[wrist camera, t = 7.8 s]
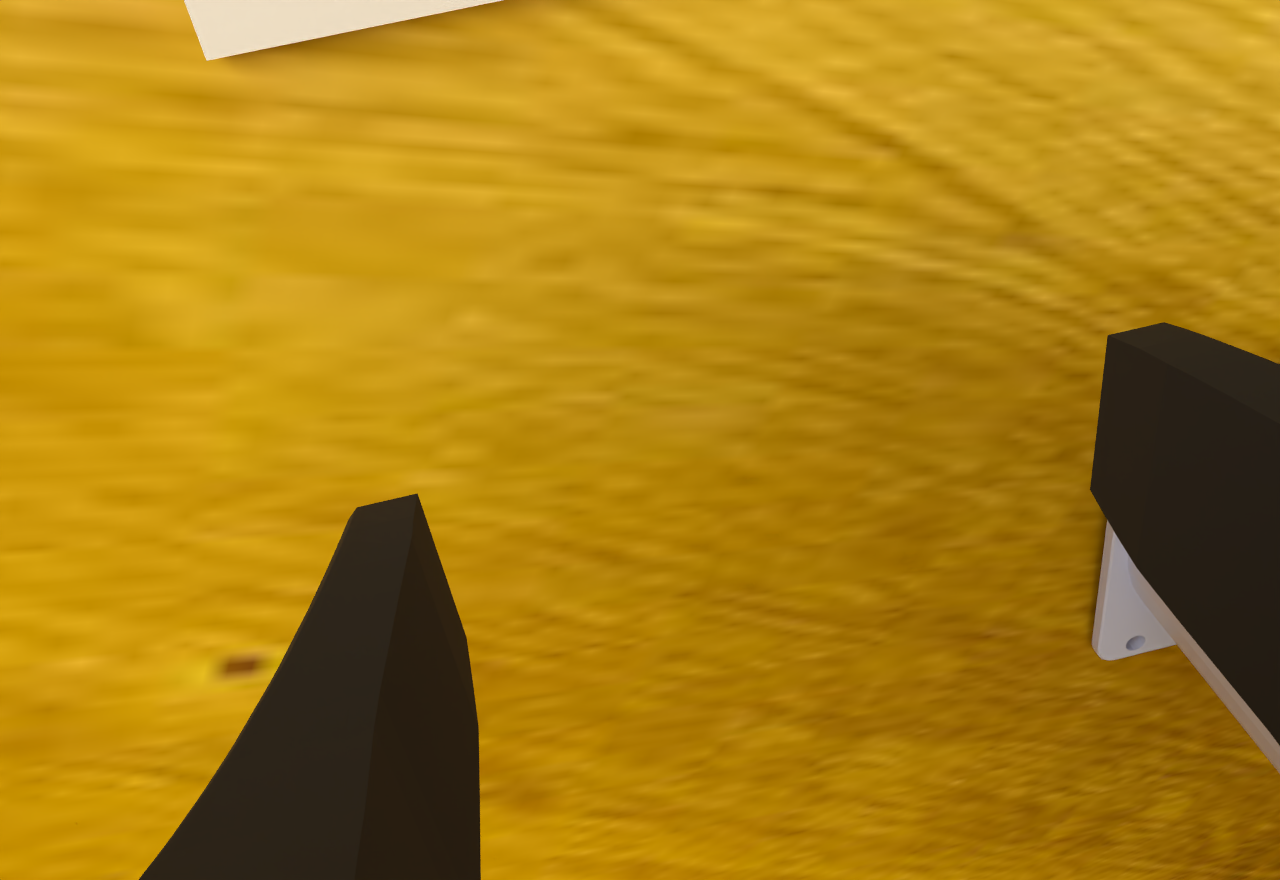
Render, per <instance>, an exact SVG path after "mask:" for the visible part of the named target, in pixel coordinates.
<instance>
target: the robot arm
mask: <svg viewBox="0 0 1280 880" xmlns="http://www.w3.org/2000/svg"><path fill="white" fill-rule="evenodd" d="M1090 490H1091V492H1092V494H1093V496H1094V497H1095V499H1096V501H1097V503H1098V504H1099V506H1100V508H1101V510H1102V511H1103V513H1104V515H1105V517H1106V518H1107V526H1106V534H1105V542H1104V550H1103V558H1102V566H1101V573H1100V581H1099V589H1098V597H1097V605H1096V613H1095V621H1094V629H1093V637H1092V647H1093V649H1094V650H1095V652H1096V653H1097V654H1098V656H1099V657H1100V658H1101V659H1104V660H1116V659H1120V658H1124V657H1128V656H1132V655H1136V654H1140V653H1144V652H1148V651H1152V650H1156V649H1160V648H1164V647H1168V646H1172V645H1176V644H1177V645H1178V647H1179V648H1180V649H1181V650H1182V652H1183V653H1184V654H1185V655H1186V657H1187V658H1188V659H1189V660H1190V662H1191V663H1192V664H1193V665H1194V667H1195V668H1196V669H1197V670H1198V672H1199V673H1200V674H1201V675H1202V677H1203V678H1204V679H1205V680H1206V682H1207V683H1208V684H1209V685H1210V687H1211V688H1212V689H1213V691H1214V692H1215V693H1216V694H1217V696H1218V697H1219V698H1220V699H1221V701H1222V702H1223V703H1224V704H1225V706H1226V707H1227V708H1228V709H1229V711H1230V712H1231V713H1232V714H1233V716H1234V717H1235V718H1236V719H1237V721H1238V722H1239V723H1240V724H1241V726H1242V727H1243V728H1244V729H1245V731H1246V732H1247V733H1248V734H1249V736H1250V737H1251V738H1252V739H1253V741H1254V742H1255V743H1256V745H1257V746H1258V747H1259V748H1260V750H1261V751H1262V752H1263V753H1264V755H1265V756H1266V757H1267V758H1268V760H1269V761H1270V762H1271V763H1272V765H1273V766H1274V767H1275V768H1276V770H1277V771H1278V772H1279V773H1280V364H1277V363H1274V362H1272V361H1269V360H1267V359H1264V358H1262V357H1259V356H1257V355H1254V354H1252V353H1249V352H1247V351H1244V350H1241V349H1239V348H1236V347H1234V346H1231V345H1228V344H1226V343H1223V342H1220V341H1218V340H1215V339H1212V338H1210V337H1207V336H1204V335H1201V334H1199V333H1196V332H1193V331H1190V330H1187V329H1184V328H1181V327H1177V326H1174V325H1171V324H1168V323H1159V324H1155V325H1151V326H1146V327H1142V328H1138V329H1133V330H1129V331H1125V332H1120V333H1116V334H1111V335H1108V338H1107V347H1106V355H1105V364H1104V373H1103V382H1102V390H1101V399H1100V408H1099V417H1098V426H1097V434H1096V443H1095V452H1094V461H1093V469H1092V478H1091V487H1090ZM139 880H481V874H480V788H479V731H478V720H477V712H476V704H475V696H474V688H473V681H472V674H471V667H470V659H469V652H468V645H467V638H466V635H465V632H464V629H463V626H462V623H461V620H460V617H459V615H458V612H457V609H456V606H455V603H454V600H453V597H452V594H451V591H450V588H449V585H448V582H447V579H446V576H445V573H444V570H443V567H442V564H441V562H440V559H439V556H438V553H437V550H436V547H435V544H434V541H433V538H432V535H431V532H430V529H429V526H428V523H427V520H426V517H425V514H424V511H423V509H422V506H421V503H420V500H419V497H418V494H414V495H409V496H405V497H401V498H396V499H392V500H388V501H383V502H379V503H374V504H370V505H366V506H361V507H357V508H356V510H355V511H354V512H353V514H352V515H351V517H350V518H349V520H348V522H347V525H346V527H345V529H344V532H343V534H342V536H341V539H340V541H339V543H338V546H337V548H336V550H335V553H334V555H333V557H332V559H331V562H330V564H329V566H328V568H327V570H326V573H325V575H324V577H323V579H322V581H321V584H320V586H319V588H318V590H317V592H316V594H315V596H314V598H313V600H312V603H311V605H310V607H309V609H308V611H307V613H306V615H305V617H304V619H303V621H302V623H301V625H300V627H299V629H298V630H297V632H296V634H295V636H294V638H293V640H292V642H291V644H290V646H289V648H288V650H287V652H286V654H285V656H284V658H283V660H282V662H281V664H280V666H279V667H278V669H277V671H276V673H275V675H274V677H273V678H272V680H271V682H270V684H269V685H268V687H267V689H266V691H265V692H264V694H263V696H262V697H261V699H260V701H259V702H258V704H257V706H256V708H255V709H254V711H253V713H252V714H251V716H250V718H249V720H248V721H247V723H246V725H245V726H244V728H243V730H242V731H241V733H240V735H239V737H238V738H237V740H236V742H235V743H234V745H233V747H232V748H231V750H230V751H229V753H228V755H227V756H226V758H225V759H224V761H223V762H222V764H221V765H220V767H219V769H218V770H217V772H216V773H215V775H214V776H213V778H212V779H211V781H210V782H209V784H208V785H207V787H206V788H205V790H204V791H203V793H202V794H201V796H200V797H199V799H198V800H197V802H196V803H195V804H194V806H193V807H192V809H191V810H190V811H189V813H188V814H187V816H186V817H185V819H184V820H183V821H182V823H181V824H180V826H179V827H178V828H177V830H176V831H175V833H174V834H173V836H172V837H171V838H170V840H169V841H168V842H167V844H166V845H165V846H164V848H163V849H162V850H161V852H160V853H159V854H158V856H157V857H156V858H155V859H154V861H153V862H152V863H151V865H150V866H149V867H148V868H147V870H146V871H145V872H144V874H143V875H142V876H141V877H140V879H139Z"/></svg>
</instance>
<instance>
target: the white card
mask: <svg viewBox="0 0 1280 880" xmlns="http://www.w3.org/2000/svg"><path fill="white" fill-rule="evenodd" d="M184 1H185V4H186V7H187V9H188V12H189V15H190V17H191V20H192V23H193V25H194V28H195V31H196V33H197V36H198V39H199V41H200V44H201V47H202V49H203V52H204V55H205V57H206V60H207V61H208V60H213V59H217V58H222V57H227V56H232V55H237V54H242V53H247V52H252V51H257V50H262V49H266V48H271V47H276V46H281V45H286V44H291V43H296V42H301V41H306V40H311V39H315V38H320V37H325V36H330V35H335V34H340V33H345V32H350V31H355V30H360V29H364V28H369V27H374V26H379V25H384V24H389V23H394V22H399V21H404V20H409V19H413V18H418V17H423V16H428V15H433V14H438V13H443V12H448V11H453V10H457V9H462V8H467V7H472V6H477V5H482V4H487V3H492V2H497V1H502V0H184Z"/></svg>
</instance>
